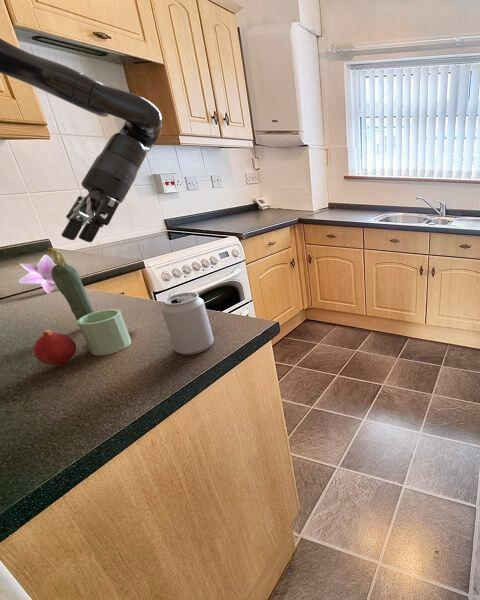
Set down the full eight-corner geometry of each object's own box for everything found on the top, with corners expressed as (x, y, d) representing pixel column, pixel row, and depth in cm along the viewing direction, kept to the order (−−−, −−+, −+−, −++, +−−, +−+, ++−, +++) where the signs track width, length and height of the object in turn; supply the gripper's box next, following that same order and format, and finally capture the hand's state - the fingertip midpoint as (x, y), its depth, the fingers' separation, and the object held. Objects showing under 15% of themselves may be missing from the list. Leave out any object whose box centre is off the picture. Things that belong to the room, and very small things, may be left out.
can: (173, 346, 74) (156, 296, 69) (210, 335, 78) (197, 287, 73) (179, 361, 68) (161, 308, 64) (218, 348, 73) (205, 297, 68)
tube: (85, 358, 70) (71, 326, 66) (97, 342, 75) (84, 312, 72) (126, 351, 72) (114, 320, 69) (135, 336, 78) (124, 307, 75)
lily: (18, 302, 99) (19, 276, 95) (15, 278, 104) (16, 252, 100) (74, 301, 108) (78, 277, 104) (69, 279, 114) (72, 256, 110)
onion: (39, 367, 67) (20, 332, 64) (76, 354, 71) (61, 320, 68) (48, 377, 64) (29, 341, 61) (86, 362, 68) (70, 328, 65)
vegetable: (103, 326, 83) (71, 246, 75) (82, 334, 79) (45, 251, 71) (93, 322, 84) (60, 244, 76) (72, 330, 81) (35, 249, 73)
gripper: (77, 167, 77) (40, 229, 73) (108, 164, 71) (68, 232, 67) (114, 188, 84) (81, 245, 80) (145, 186, 77) (111, 249, 73)
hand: (75, 239), depth 73 cm, fingers open, 8 cm apart
